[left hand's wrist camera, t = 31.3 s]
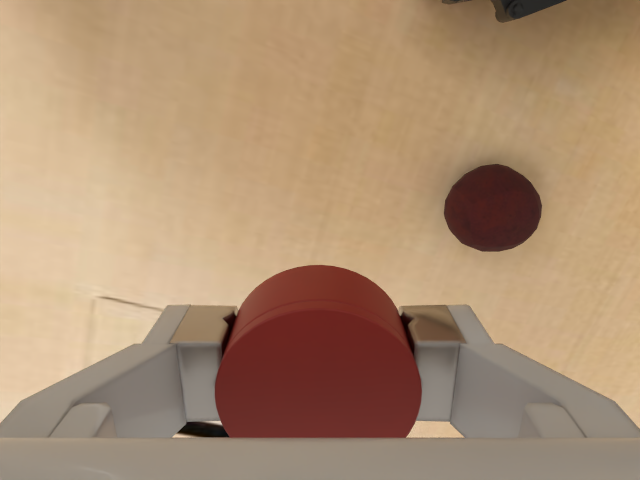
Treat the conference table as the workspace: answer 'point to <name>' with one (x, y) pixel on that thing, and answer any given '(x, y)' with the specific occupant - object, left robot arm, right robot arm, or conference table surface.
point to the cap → (318, 361)
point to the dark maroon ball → (493, 208)
